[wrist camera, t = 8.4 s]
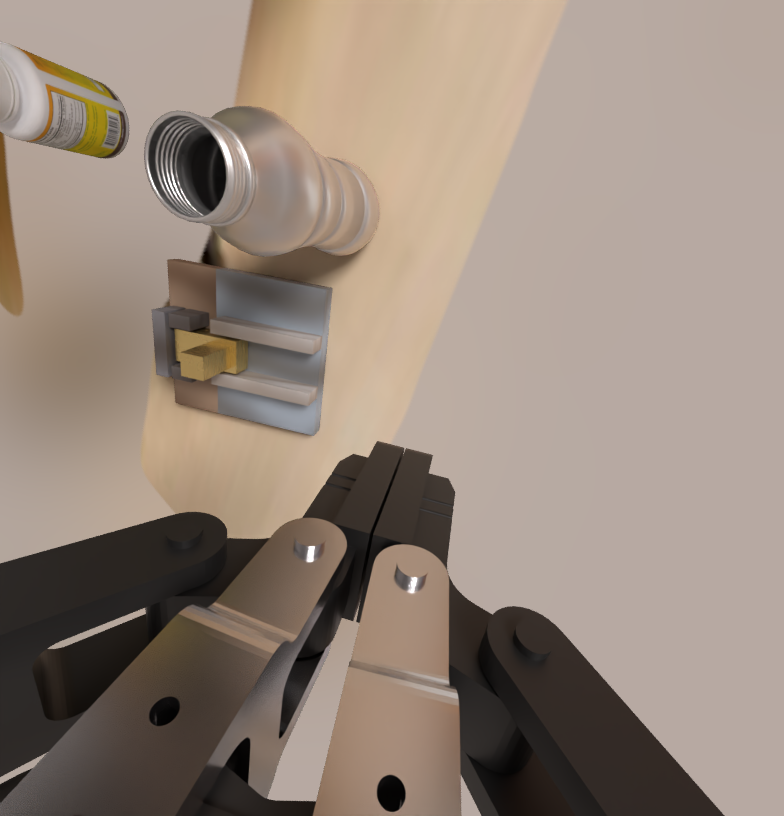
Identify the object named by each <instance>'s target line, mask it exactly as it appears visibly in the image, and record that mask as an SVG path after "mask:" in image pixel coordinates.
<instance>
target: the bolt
mask: <svg viewBox="0 0 784 816" xmlns="http://www.w3.org/2000/svg"><path fill="white" fill-rule="evenodd" d="M174 330H175V348H176V361H180V362H181V376H184V377H188V378H193V379H197V380H201V381H204V380H207V379H209V378H211V377H213V376H215V375H217V374H219V373H221V372H223V371H224V372H229V373H233V374H237V373H239V372H241V371H243V370H245V369H247V368H248V341H246V340H241V339H236V338H232V337H227V336H222V335H217V334H213V333H210V329H207V328H199V329H196V330H192V331H186V330H182V329H177V328H175V329H174Z"/></svg>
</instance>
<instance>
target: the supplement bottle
mask: <svg viewBox="0 0 784 816" xmlns="http://www.w3.org/2000/svg"><path fill="white" fill-rule="evenodd" d="M0 132H2V133H3V134H5V135H7V136H9V137H12V138H14V139H18V140H22V141H27V142H31V143H36V144H40V145H45V146H49V147H54V148H58V149H63V150H67V151H72V152H76V153H80V154H85V155H90V156H94V157H98V158H112V157H115V156H117V155H119V154H120V153H121V152H122V151H123V150H124V148H125V146H126V144H127V142H128V137H129V122H128V117H127V114H126V111H125V108H124V106H123V105H122V103H121V101H120V99H119V98H118V97H117V95H116V94H115V93H114V92H113V91H112V90H111V89H110V88H108V87H107V86H106V85H104V84H102V83H100V82H98V81H96V80H93V79H91V78H89V77H87V76H84V75H81V74H79V73H77V72H74V71H72V70H70V69H67V68H65V67H63V66H60V65H58V64H55V63H53V62H51V61H48V60H46V59H43V58H41V57H38V56H36V55H34V54H32V53H29V52H27V51H25V50H22V49H20V48H18V47H15V46H13V45H10V44H8V43H5V42H0Z"/></svg>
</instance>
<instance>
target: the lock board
mask: <svg viewBox="0 0 784 816" xmlns="http://www.w3.org/2000/svg"><path fill="white" fill-rule="evenodd" d="M168 278H169V297H170V306H168V307H163V308H158V309H153V310H152V320H153V333H154V347H155V360H156V373H157V375H160V376H164V377H170V376H172V378H173V379H174V384H175V401H176V403H178V404H182V405H187V406H191V407H195V408H199V409H203V410H208V411H212V412H216V413H220V414H224V415H229V416H233V417H237V418H241V419H245V420H249V421H254V422H258V423H262V424H266V425H270V426H275V427H279V428H283V429H287V430H291V431H296V432H300V433H304V434H308V435H312V436H314V435H315V434H316V433H317V432H318V430H319V427H320V416H321V405H322V394H323V384H324V373H325V362H326V351H327V341H328V330H329V319H330V309H331V298H332V288H329V287H324V286H319V285H313V284H308V283H303V282H297V281H292V280H287V279H281V278H276V277H271V276H265V275H260V274H255V273H250V272H244V271H239V270H234V269H228V268H223V267H218V266H212V265H207V264H202V263H197V262H191V261H186V260H181V259H170V260H168ZM175 328H177V329H182V330H186V331H192V330H196V329H199V328H207V329H210V333H213V334H217V335H222V336H227V337H232V338H236V339H241V340H246V341H248V368H247V369H245V370H243V371H241V372H239V373H237V374H233V373H229V372H224V371H223V372H221V373H219V374H217V375H215V376H213V377H211V378H209V379H207V380H204V381H201V380H197V379H193V378H188V377H184V376H181V362H180V361H176V348H175V330H174V329H175Z"/></svg>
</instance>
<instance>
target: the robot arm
mask: <svg viewBox="0 0 784 816" xmlns="http://www.w3.org/2000/svg"><path fill="white" fill-rule="evenodd" d="M403 453H404V455H403ZM432 456H433V455H431V454H426V453H423V452H419V451H414V450H411V449H407V448H406V450H405V452H404V448H403V447H399V446H395V445H391V444H387V443H383V442H379V441H377V443H376V444H375V446H374V448H373V450H372V452H371V454H370V455H369V457H368V458H367V457H363V456H359V455H356V454H352V455H351V456H349V457H347V458H345V459H343V460H342V461H340V462H339V463H338V465H337V466H336V468H335V469H334V471H333V472H332V475H330V477H329V478H328V480H327V481H326V484H325V485H324V486H323V487H322V489H321V490H320V492H319V493H318V495H317V496H316V498H315V499H314V501H313V502H312V504H311V506H310V507H309V509H308V510H307V512H306V513H305V515H304V516H303V518H300V519H295V520H292V521H289V522H287V523H285V524H284V525H282V526H281V527H280V528H279V529H278V530H277V531H276V532H275V533H274V534H273V535H272V536H271V538H266V539H233V538H227V529H226V526H225V524H224V523H223V522H222V521H221V520H220V519H218V518H217V517H215V516H213V515H210V514H206V513H201V512H186V513H179V514H175V515H171V516H167V517H164V518H160V519H157V520H154V521H150V522H146V523H143V524H139V525H136V526H132V527H128V528H125V529H122V530H118V531H115V532H111V533H107V534H103V535H100V536H96V537H93V538H89V539H86V540H83V541H79V542H75V543H72V544H68V545H65V546H61V547H58V548H54V549H50V550H47V551H43V552H40V553H36V554H33V555H29V556H25V557H22V558H18V559H15V560H11V561H8V562H4V563H1V564H0V777H1V776H3V775H5V774H7V773H9V772H11V771H13V770H14V769H16V768H18V767H20V766H22V765H24V764H26V763H28V762H30V761H32V760H33V759H35V758H37V757H39V756H41V755H43V754H45V753H47V752H48V753H47V754H46V755H45V756H44V757H43V758H42V759H41V760H40V761H39V762H38V763H37V765H36V766H35V767H34V768H32V769H30V770H28V771H26V772H23V773H21V774H19V775H17V776H15V777H13V778H11V779H9V780H8V781H6V782H4V783H2V784H0V816H461V775H462V777H463V779H464V781H465V783H466V785H467V787H468V789H469V791H470V793H471V795H472V797H473V799H474V801H475V803H476V805H477V808H478V810H479V811H480V813H481V816H724V815H723V814H722V812H721V811H720V810H719V809H718V808H717V807H716V806H715V805H714V804H713V802H712V801H711V800H710V799H709V798H708V797H707V796H706V795H705V793H704V792H703V791H702V790H701V789H700V788H699V786H697V784H696V783H695V782H694V781H693V780H692V779H691V777H690V776H689V775H688V774H687V773H686V772H685V771H684V770H683V768H682V767H681V766H680V765H679V764H678V763H677V762H676V760H675V759H674V758H673V757H672V756H671V755H670V754H669V752H668V751H667V750H666V749H665V748H664V747H663V746H662V745H661V743H660V742H659V741H658V740H657V739H656V738H655V737H654V736H653V734H652V733H651V732H650V731H649V730H648V729H647V728H646V726H645V725H644V724H643V723H642V722H641V721H640V720H639V719H638V717H637V716H636V715H635V714H634V713H633V712H632V711H631V709H630V708H629V707H628V706H627V705H626V704H625V703H624V702H623V700H622V699H621V698H620V697H619V696H618V695H617V694H616V692H615V691H614V690H613V689H612V688H611V687H610V686H609V685H608V684H607V682H606V681H605V680H604V679H603V678H602V677H601V675H600V674H599V673H598V672H597V671H596V670H595V669H594V668H593V666H592V665H591V664H590V663H589V662H588V661H587V660H586V658H585V657H584V656H583V655H582V654H581V653H580V652H579V651H578V649H577V648H576V647H575V646H574V645H573V644H572V643H571V641H570V640H569V639H568V638H567V637H566V636H565V635H564V634H563V632H562V631H561V630H560V629H559V628H558V627H557V626H556V625H555V624H553V623H552V622H551V621H550V620H549V619H547V618H546V617H544V616H543V615H541V614H539V613H537V612H535V611H532V610H530V609H526V608H523V607H515V606H512V607H505V608H502V609H499V610H498V611H496V612H495V613H494V614H493V615H492V614H490V613H489V612H487V611H485V610H483V609H482V608H480V607H479V606H477V605H475V604H474V603H472V602H471V601H469V600H468V599H467V598H465V597H464V596H463V595H462V594H461V593H460V592H459V591H458V590H457V589H456V587H455V586H454V585H453V583H452V581H451V579H450V577H449V575H448V571H447V558H448V549H449V540H450V532H451V523H452V515H453V506H454V497H455V491H454V489H453V487H452V485H451V483H450V481H449V479H448V478H444V477H440V476H436V475H433V474H429V469H430V465H431V461H432ZM359 603H360V605H359ZM358 606H359V611H358V616H357V622H358V623H360V624H359V628H358V632H357V637H356V641H355V645H354V649H353V654H352V658H351V661H350V663H349V666H348V670H347V674H346V678H345V682H344V687H343V691H342V695H341V699H340V704H339V708H338V712H337V716H336V720H335V724H334V729H333V733H332V737H331V741H330V745H329V750H328V754H327V758H326V763H325V766H324V771H323V775H322V779H321V783H320V787H319V792H318V796H317V800H316V802H315V801H314V802H313V801H275V800H269V799H267V797H268V794H269V791H270V788H271V786H272V783H273V780H274V776H275V773H276V769H277V766H278V763H279V760H280V758H281V755H282V752H283V750H284V748H285V745H286V743H287V741H288V739H289V737H290V735H291V732H292V730H293V728H294V726H295V724H296V722H297V720H298V718H299V716H300V713H301V711H302V709H303V707H304V705H305V703H306V701H307V699H308V696H309V694H310V692H311V690H312V688H313V686H314V684H315V681H316V679H317V677H318V675H319V673H320V671H321V669H322V667H323V664H324V662H325V660H326V658H327V656H328V653H329V651H330V646H331V642H332V640H333V638H334V636H335V634H336V631H337V629H338V626H339V624H340V621H341V618H345V619H348V620H351V621H353V620H354V617H355V614H356V611H357V608H358ZM143 608H145V610H146V614H145V615H142V616H140V617H137V618H135V619H132V620H130V621H127V622H125V623H122V624H120V625H117V626H115V627H112V628H110V629H108V630H105V631H103V632H100V633H98V634H95V635H93V636H90V637H88V638H86V639H83V640H80V641H78V642H75V643H73V644H71V645H68V646H65V647H62V648H58V649H47V648H49V647H50V646H52V645H54V644H55V643H58V642H59V641H62V640H65V639H67V638H70V637H72V636H75V635H77V634H80V633H82V632H85V631H87V630H90V629H92V628H95V627H97V626H100V625H102V624H105V623H107V622H110V621H112V620H115V619H117V618H120V617H122V616H125V615H128V614H130V613H133V612H135V611H138V610H140V609H143Z"/></svg>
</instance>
